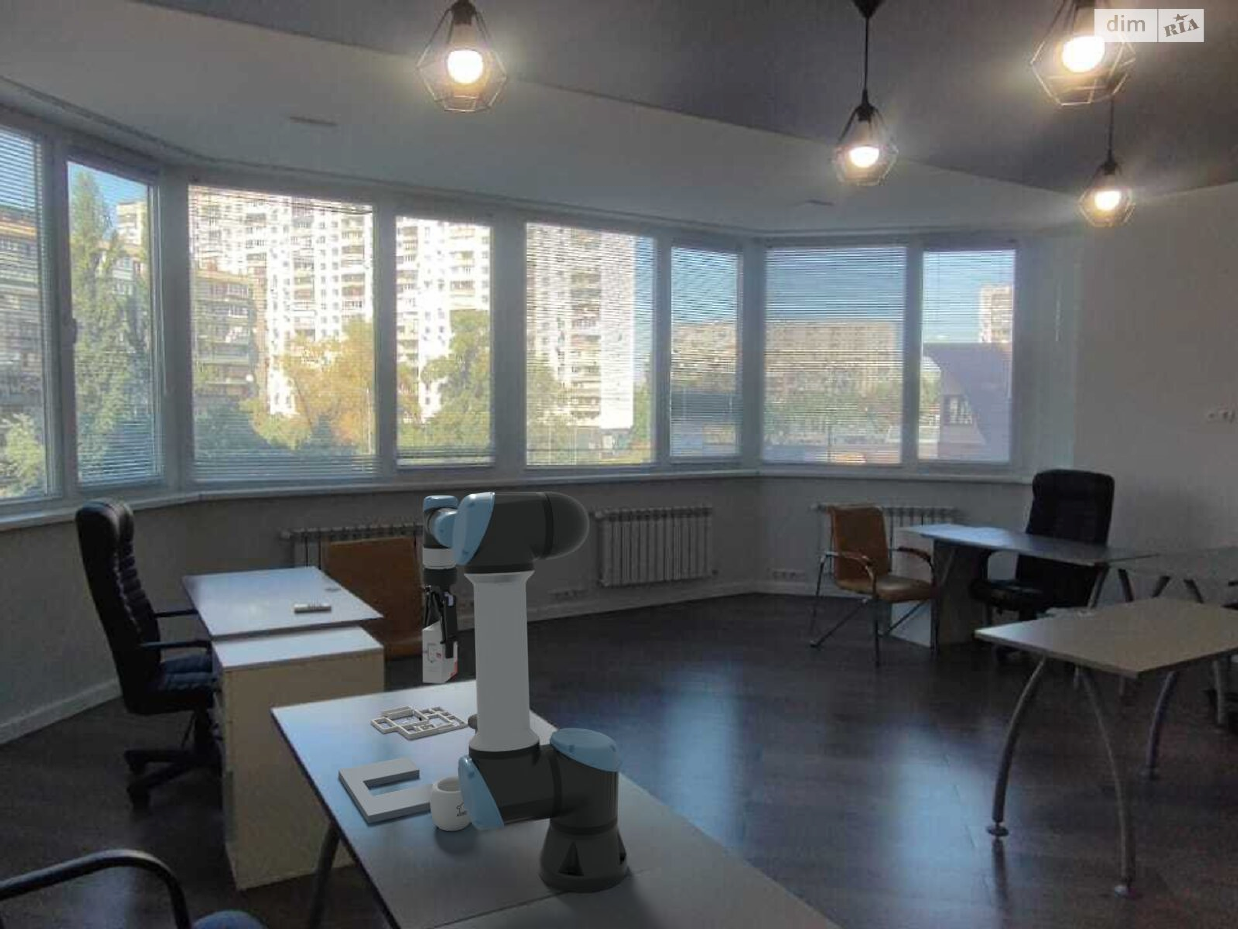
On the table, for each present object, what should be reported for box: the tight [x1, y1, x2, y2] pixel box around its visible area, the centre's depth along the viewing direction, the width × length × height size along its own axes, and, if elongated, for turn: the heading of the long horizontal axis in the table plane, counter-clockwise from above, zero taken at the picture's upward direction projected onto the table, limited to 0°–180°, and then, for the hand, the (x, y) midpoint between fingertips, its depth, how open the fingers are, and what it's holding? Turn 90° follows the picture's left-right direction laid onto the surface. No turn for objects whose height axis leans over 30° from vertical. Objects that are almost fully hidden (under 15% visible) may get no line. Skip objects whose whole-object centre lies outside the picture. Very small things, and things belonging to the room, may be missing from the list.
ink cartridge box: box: [421, 617, 458, 685], centre depth 190 cm, size 9×5×15 cm, turn 168°
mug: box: [430, 776, 471, 832], centre depth 163 cm, size 12×8×8 cm
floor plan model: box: [370, 705, 469, 741], centre depth 213 cm, size 19×25×2 cm
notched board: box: [338, 756, 434, 824], centre depth 176 cm, size 24×15×2 cm, turn 31°
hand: (440, 666), depth 191 cm, fingers closed on ink cartridge box, 9 cm apart
